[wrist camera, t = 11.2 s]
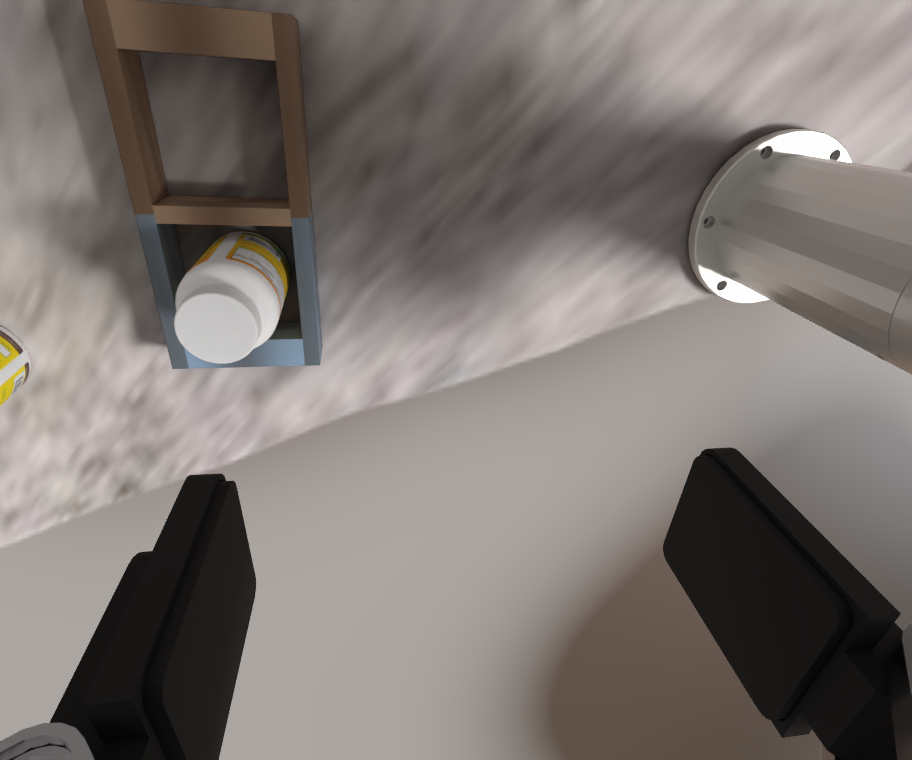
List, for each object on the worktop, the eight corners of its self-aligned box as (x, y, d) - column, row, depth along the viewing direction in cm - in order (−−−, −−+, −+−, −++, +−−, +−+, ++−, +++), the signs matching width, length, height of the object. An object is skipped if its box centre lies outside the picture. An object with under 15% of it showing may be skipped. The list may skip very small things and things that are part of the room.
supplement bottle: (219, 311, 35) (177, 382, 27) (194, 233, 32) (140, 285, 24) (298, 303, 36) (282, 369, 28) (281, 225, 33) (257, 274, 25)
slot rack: (297, 20, 28) (292, 14, 25) (322, 345, 38) (320, 365, 35) (107, 3, 26) (81, -5, 24) (185, 348, 36) (172, 368, 34)
